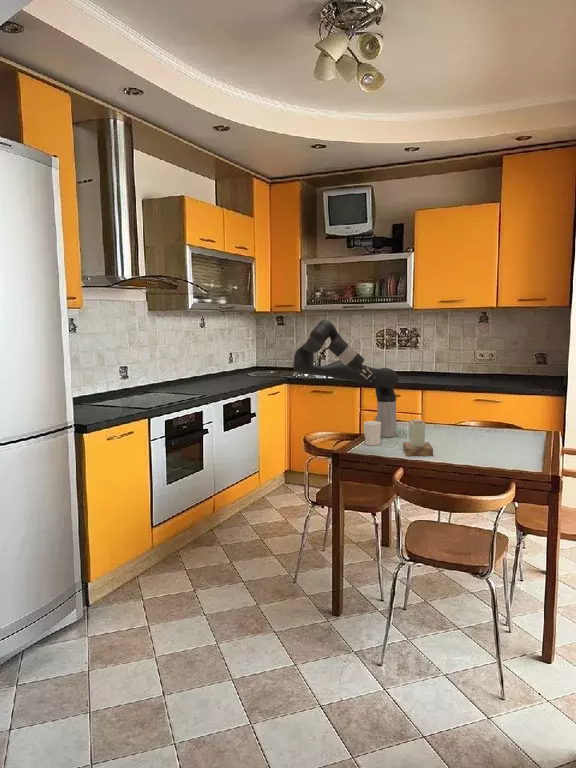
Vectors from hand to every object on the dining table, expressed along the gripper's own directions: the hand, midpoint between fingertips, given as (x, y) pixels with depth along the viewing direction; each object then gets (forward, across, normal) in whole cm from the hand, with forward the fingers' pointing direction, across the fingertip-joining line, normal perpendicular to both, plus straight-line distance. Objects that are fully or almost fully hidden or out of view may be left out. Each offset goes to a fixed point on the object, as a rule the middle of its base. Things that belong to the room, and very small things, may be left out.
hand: (378, 384), depth 242 cm
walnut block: (+34, 0, -10) cm, 35 cm away
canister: (+30, 0, -8) cm, 31 cm away
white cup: (+22, -19, -22) cm, 36 cm away
